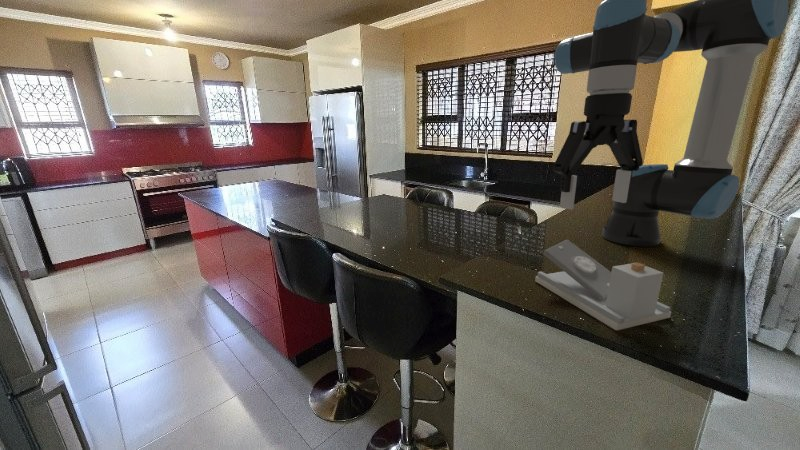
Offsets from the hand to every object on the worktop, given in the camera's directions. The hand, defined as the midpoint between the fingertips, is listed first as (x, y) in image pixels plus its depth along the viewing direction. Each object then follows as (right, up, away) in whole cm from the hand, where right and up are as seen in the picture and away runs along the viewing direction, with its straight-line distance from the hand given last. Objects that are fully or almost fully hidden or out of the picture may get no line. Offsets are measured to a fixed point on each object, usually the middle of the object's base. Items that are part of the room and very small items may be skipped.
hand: (593, 204), depth 69 cm
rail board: (+1, -19, +1) cm, 19 cm away
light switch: (0, -17, +4) cm, 18 cm away
